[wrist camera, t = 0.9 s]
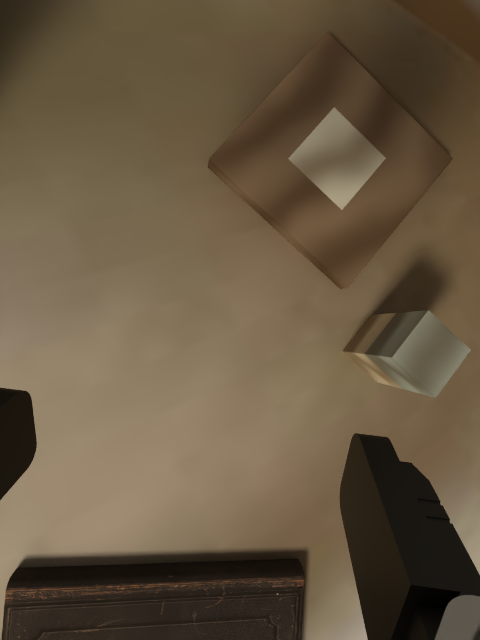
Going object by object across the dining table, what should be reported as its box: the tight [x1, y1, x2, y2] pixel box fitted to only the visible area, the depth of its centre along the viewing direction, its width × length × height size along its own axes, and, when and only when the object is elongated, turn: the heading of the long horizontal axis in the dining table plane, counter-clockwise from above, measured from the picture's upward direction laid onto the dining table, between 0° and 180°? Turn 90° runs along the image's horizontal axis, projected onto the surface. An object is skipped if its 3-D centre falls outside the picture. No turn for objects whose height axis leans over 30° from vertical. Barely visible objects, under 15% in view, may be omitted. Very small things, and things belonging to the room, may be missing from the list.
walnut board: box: [208, 32, 453, 289], centre depth 33 cm, size 16×16×2 cm
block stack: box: [343, 310, 471, 397], centre depth 30 cm, size 4×4×8 cm
